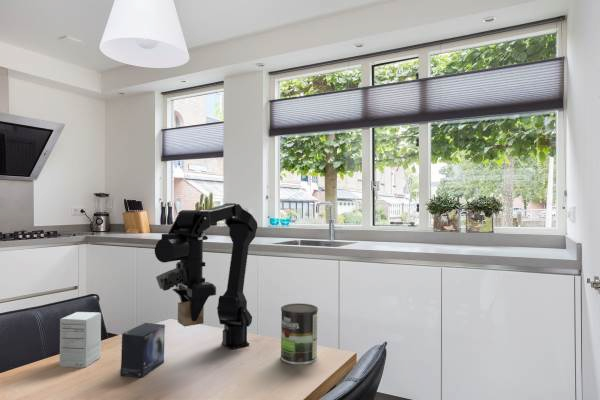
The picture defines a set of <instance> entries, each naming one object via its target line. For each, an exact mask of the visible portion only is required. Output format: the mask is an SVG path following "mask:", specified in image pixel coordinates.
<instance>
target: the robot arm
mask: <svg viewBox="0 0 600 400" xmlns="http://www.w3.org/2000/svg"><path fill="white" fill-rule="evenodd" d="M221 221H224V224H225V225H226V227H228V228H229V230H228V231H229V232H228V234H229V237H230V239H231V242H232V249H231V257H230V264H229V270H228V278H227V286H226V291H225V292H224V294H223V295H219V297H218V301H217V308H216V310H217V312H216V313H217V317H218V321H219V324H220V325H223V330H222V341H221V344H223V345H224V346H225V347H227V348H228V349H231V350H232V349H237V348H241V347H246V346H249V345H250V342H248V327H250V326H251V324H252V321H253V316H252V314H251V313H250V311H249V310H248V302H247V301H248V300H247V298H246V296H245V294H244V287H245V285H244V284H245V277H246V271H247V270H246V269H247V261H248V255H249V247H250V244H251V243H252V242H253V241H254V239H255V237H256V234H257V229H258V222H257V220H256V218H255V217H254V216H253V214H252V213H251V212H248V211H247V210H246V209H243V207H242V206H241V204H239V203H232V202H231V203H228V202H227V203H226V202H225V204H224V203H223V205H222V204H221V205H218V206H213V207H209V208H206V209H182V210H180V211H178V213H177V216H176V218H175V219H174V221H173V224H172V225H171V226H170V227H171V228H170V230H169V231H168V233H162V234H161V238H160V239H159V240H158V241H157V242H156V245H155V247H154V255H155V257H156V259H157V261H159V262H160V263H169V262H170V263H171V262H176V264H175V265H176V267H175V268H173V269H170V270H168V271H165V272H162V273H161V274H159V275H157V276H156V277H155V279H156V281H157V284H158V287H159V289H161V290H162V291H166V292H167V291H168V290H171V288H172V291H173V292H174V293H176V295H178V296H179V299H180V302H187V301H189V302H190V310H191V317H192V321H197V319H198V317H199V315H200V312H201V310H202V308H203V306H204V307H205V304H206V302H207V300H208V299H209V298H210V297H212V296H216V295H217V286H215V284H213V283H211V282H209V281H206V278H205V277H203V267H206V262H205V261H203V256H204V255H203V254H204V253H203V251H204V250H203V246H204V241H208V240H209V238H208V236H207V235H206V234H205V231H207V230H208V229H209V228H211V225H212V224H215V223H218V222H221ZM174 287H175V288H174Z"/></svg>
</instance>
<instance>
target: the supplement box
mask: <svg viewBox="0 0 600 400" xmlns="http://www.w3.org/2000/svg"><path fill="white" fill-rule="evenodd" d="M59 320H60V321H59V367H60V368H61V367H64V368H88V366H90V365H91V364H94V362H95V361H97V360H98V359H100V358H101V354H102V353H101V349H102V348H101V345H102V344H101V343H102V340H101V339H102V337H101V336H102V312H97V311H95V312H91V311H90V312H89V311H75V312H74V313H72V314H69V315H66V316H64V317H61V318H60V319H59Z"/></svg>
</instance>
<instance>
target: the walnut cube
mask: <svg viewBox="0 0 600 400" xmlns="http://www.w3.org/2000/svg"><path fill="white" fill-rule="evenodd" d="M204 308H205V305H204V306H203V308H202V310H201V312H200V315H199V317H198V319H197V321H192V317H191V310H190V302H189V301H187V302H181V301H180V302H177V323H178V324H179V325H181V326H183V327H184V328H185V327H190V326H196V325H203V324H204V315H205V314H204V313H205V312H204Z"/></svg>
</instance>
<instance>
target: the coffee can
mask: <svg viewBox="0 0 600 400" xmlns="http://www.w3.org/2000/svg"><path fill="white" fill-rule="evenodd" d="M280 311H281V332H280V333H281V334H280V335H281V336H280V338H281V339H280V340H281V341H280V344H281V345H280V360H281V361H282V362H284V363H286V364H289V365H293V366H294V365H296V366H297V365H298V366H303V365H305V366H306V365H310V364H312V363H314V362H316V361H317V359H318V357H317V356H318V355H317V354H318V311H319V308H318V306H317V305H313V304H310V303H289V304H285V305H282V306H281V307H280Z"/></svg>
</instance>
